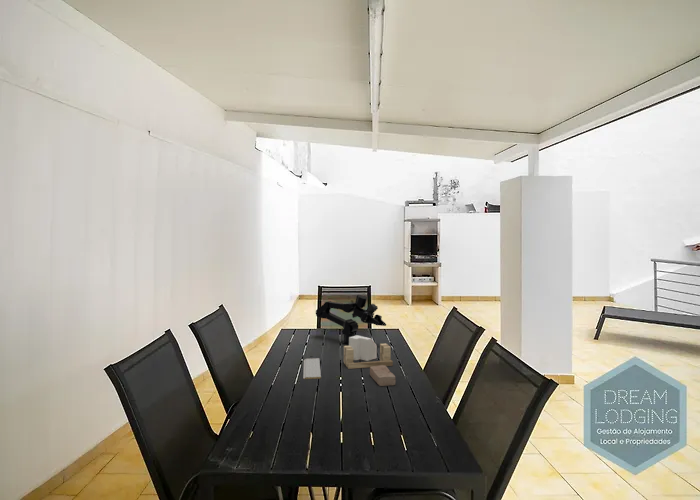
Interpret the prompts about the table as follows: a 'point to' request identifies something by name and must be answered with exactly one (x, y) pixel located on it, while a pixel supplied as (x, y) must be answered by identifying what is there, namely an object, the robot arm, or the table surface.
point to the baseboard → (312, 369)
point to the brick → (382, 375)
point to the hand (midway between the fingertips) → (382, 324)
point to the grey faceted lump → (363, 348)
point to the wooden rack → (384, 357)
